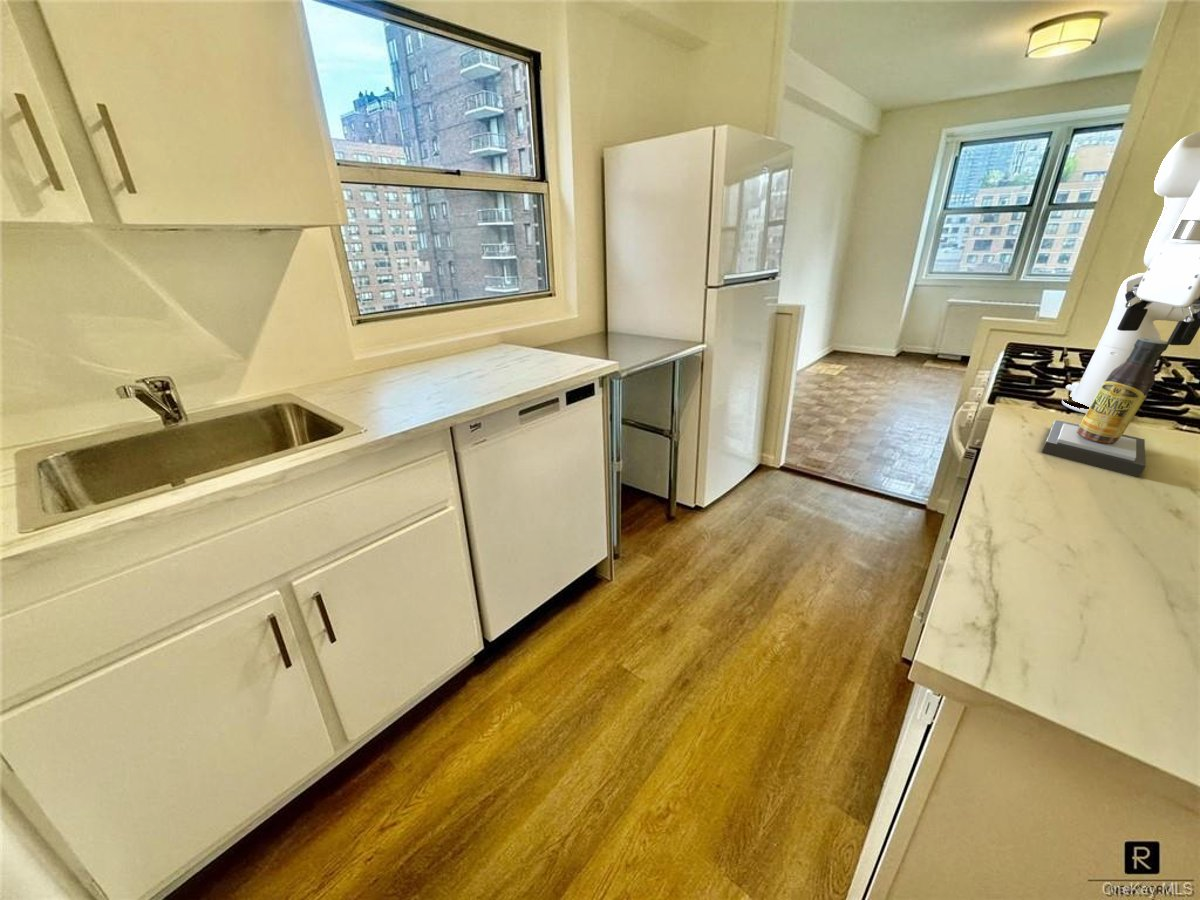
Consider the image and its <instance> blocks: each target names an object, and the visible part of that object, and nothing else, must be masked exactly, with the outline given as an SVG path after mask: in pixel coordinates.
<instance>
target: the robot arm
mask: <svg viewBox="0 0 1200 900" xmlns="http://www.w3.org/2000/svg"><path fill="white" fill-rule="evenodd" d="M1154 192H1155V193H1156V195H1158V196H1159V197H1162V198H1164V207H1163V210H1162V213H1161V216H1160V217H1159V220H1158V222H1157V224H1156V226H1155V228H1154V231H1153V233H1152V236H1151V238H1150V239H1149V242H1148V244H1147V247H1146V249H1145V252H1144V255H1143V264H1144V266H1145V267H1146V268H1147V269H1146V271H1145V272H1141V273H1137V274H1134V275H1131V276H1130V277H1128V278H1126V279H1125V280H1124V281H1123V282H1122V284H1121V285H1120V287H1119V289H1118V291H1117V293H1116V296H1115V299H1114V303H1113V307H1112V311H1111V314H1110V317H1109V320H1108V322H1107V324H1106V327H1105V329H1104V331H1103V333H1102V335H1101V338H1100V339H1099V342H1098V344H1097V346H1096V348H1095V350H1094V352H1093V354H1092V356H1091V358H1090V361H1089V362H1088V365H1087V366H1086V368H1085V371H1084V373H1083V374H1082V377H1081V379H1080V381H1075V382H1073V383H1071V384H1067V385H1065V390H1067V391H1070V394H1069V396H1070V397H1072V400H1073V401H1075V402H1078V403H1080V404H1083V405H1085V406H1087V407H1089V408H1090V406H1091V404H1092V402H1093V401H1094V399H1095V397H1096V395H1097V394H1098V392H1099V390H1100V388H1101V387H1102V385H1103V383H1104V382H1105V381H1106V379H1107V378H1108V376H1109V375H1110V374H1111V372H1112V371H1113V370H1114V369H1115V368H1117V367H1119V366H1120V365H1121V364H1123V363H1124V362H1125V361H1126V360H1127V358H1128V357H1129V356H1130V354H1131V352H1132V350H1133V349H1134V344H1135V343H1136V341H1137V340H1138V338H1153V339H1159V340H1162V339H1161V334H1160V332H1159V330H1158V328H1157V327H1156V326H1155V324H1154V321H1167V322H1174V323H1175V322H1177V323H1176V325H1175V327H1174V328H1173V331H1172V332H1171V334H1170V336H1169V338H1168V340H1167V341H1166V342H1167V343H1168V344H1169V345H1170V346H1189V345H1191V344H1192V342H1193V340H1194V338H1195V337H1196V335H1197V333H1198V331H1199V330H1200V130H1198V131H1195V132H1192V133H1190V134H1188V135H1187V136H1184V137H1182V138H1181V139H1180V140H1179V141H1177V142H1176V143H1175V144H1174V145H1173V146H1172V147H1171V149H1170V150H1169V151H1168V152H1167V154H1166V156H1165V157H1164V159H1163V161H1162V163H1161V165H1160V167H1159V169H1158V173H1157V174H1156V177H1155V180H1154ZM1169 345H1168V346H1169ZM1067 401H1068V400H1067ZM1061 404H1062V406H1064V407H1066V408H1068V409H1070V410H1072V411H1075V412H1078V413H1082V414H1084V415H1086V413H1087V411H1088V409H1084V408H1080V409H1079V408H1077V407H1074V406H1071V405H1069V404H1067V403H1065V402H1064V401H1063V399H1062V400H1061Z"/></svg>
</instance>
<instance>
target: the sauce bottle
mask: <svg viewBox="0 0 1200 900" xmlns="http://www.w3.org/2000/svg"><path fill="white" fill-rule="evenodd" d="M1167 342H1168V341H1166V340H1163V339H1161V340H1159V339H1153V338H1138V340H1137V341H1136V343H1135V344H1134V349H1133V350H1132V352H1131V354H1130V356H1129V357H1128V358H1127V360H1126V361H1125V362H1124V363H1123V364H1121V365H1120V366H1119V367H1117V368H1115V369H1114V370H1113V371H1112V372H1111V374H1110V375H1109V376H1108V378H1107V379H1106V381H1105V382H1104V383H1103V385H1102V387H1101V388H1100V390H1099V392H1098V394H1097V395H1096V397H1095V399H1094V401H1093V402H1092V404H1091V406H1090V408H1089V409H1088V411H1087V413H1086V414H1084V416H1083V418H1082V420H1081V422H1080V423H1079V424H1080V427H1079V428H1078V430H1077V434H1079V435H1080V436H1081V437H1083V438H1085V439H1088V440H1091V441H1095V442H1099V443H1103V444H1108V443H1115V442H1117V440H1118V439H1119V438H1120V437H1121V436H1122V435H1124V434H1125V431H1126V430H1127V428H1128V427H1129V426H1130V424H1131V422H1132V420H1133V418H1134V417H1135V415H1136V414H1137V412H1138V410H1139V409H1140V408H1141V406H1142V404H1143V403H1144V401H1145V400H1146V398H1147V396H1148V394H1149V391H1150V390H1151V389H1152V387H1153V386H1154V384H1155V380H1156V378H1155V371H1154V369H1155V366H1156V365H1157V364H1158V363H1157V362H1158V361H1159V360H1160V357H1161V356H1162V355H1163V353H1164V352H1165V351H1167V349H1168V348H1169V344H1168V343H1167Z"/></svg>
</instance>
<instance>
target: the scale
mask: <svg viewBox="0 0 1200 900" xmlns="http://www.w3.org/2000/svg"><path fill="white" fill-rule="evenodd" d="M1079 427H1080V423H1079V424H1077V423H1073V422H1067V421H1064V420H1059V419H1054V421H1053V423H1052V425H1051V427H1050V429H1049V431H1048V434H1047V437H1046V440H1045V441H1044V444H1043V446H1042V449H1041V453H1042V454H1045V455H1046V454H1047V455H1051V456H1055V457H1057V458H1062V459H1065V460H1069V461H1073V462H1077V463H1082V464H1086V465H1089V466H1094V467H1098V468H1101V469H1104V470H1109V471H1113V472H1117V473H1120V474H1125V475H1129V476H1132V477H1136V478H1140V476H1141V474H1142V473H1143V472H1144V470H1145V468H1146V441H1145V438H1141V437H1136V436H1132V435H1127V434H1123V435H1122V436H1121V437H1120V438H1119V439H1118V440H1117V442H1115V443H1108V444H1103V443H1099V442H1095V441H1091V440H1088V439H1085V438H1083V437H1081V436H1080V435H1079V434H1077V430H1078V428H1079Z"/></svg>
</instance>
